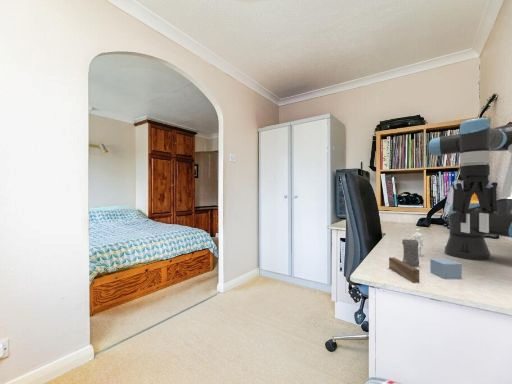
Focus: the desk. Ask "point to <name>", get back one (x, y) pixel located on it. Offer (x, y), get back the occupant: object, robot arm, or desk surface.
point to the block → (446, 268)
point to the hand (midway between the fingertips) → (474, 232)
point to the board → (404, 269)
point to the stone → (410, 252)
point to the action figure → (419, 239)
